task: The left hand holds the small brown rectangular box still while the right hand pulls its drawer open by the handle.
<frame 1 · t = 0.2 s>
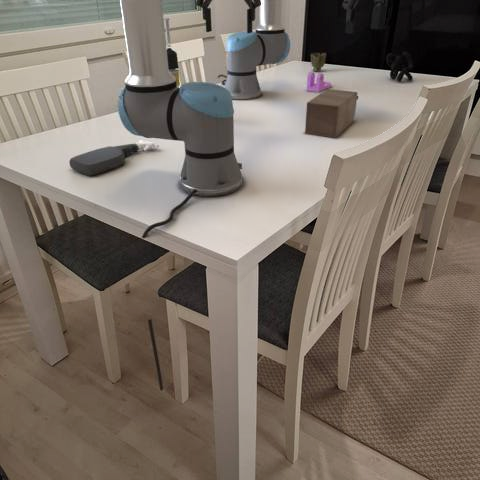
left hand: (229, 32, 139), 28 cm above the table, tool pointing down, fingers open, 13 cm apart
right hand: (362, 31, 140), 27 cm above the table, tool pointing down, fingers open, 13 cm apart
olive tapered piece: (317, 71, 220), on the table
brown rectangular box: (330, 127, 146), on the table
filter: (174, 105, 171), on the table
bracket: (320, 88, 190), on the table
squiggle: (399, 80, 200), on the table
drawer: (338, 107, 148), point 5 cm above the table, slide at 2.0 cm
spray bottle: (117, 159, 125), on the table
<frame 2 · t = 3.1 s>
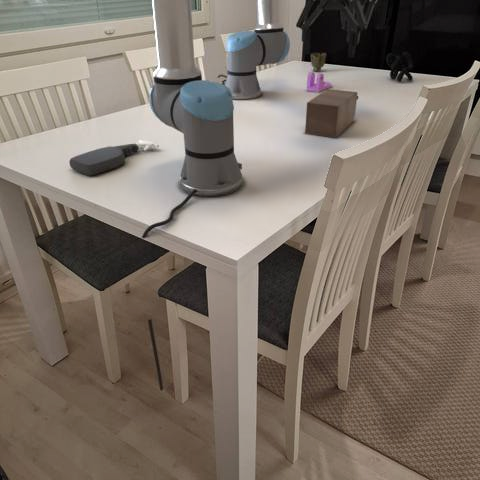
left hand: (328, 55, 131), 23 cm above the table, tool pointing down, fingers open, 13 cm apart
right hand: (351, 53, 147), 20 cm above the table, tool pointing down, fingers closed
nothing on the table moved.
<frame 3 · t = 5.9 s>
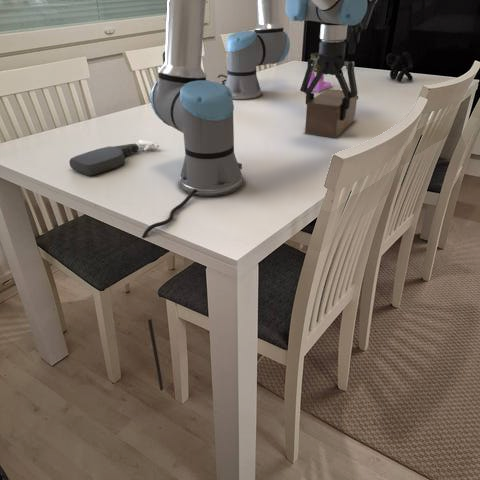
left hand: (326, 117, 140), 5 cm above the table, tool pointing down, fingers closed on brown rectangular box, 10 cm apart
right hand: (351, 53, 147), 20 cm above the table, tool pointing down, fingers closed
brown rectangular box: (330, 127, 146), on the table, touching left hand
everything else where it was.
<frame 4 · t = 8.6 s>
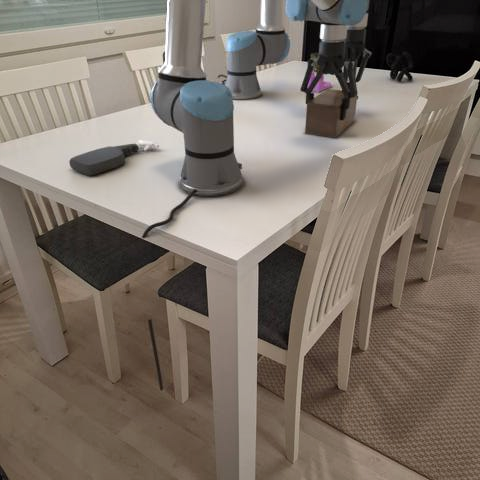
left hand: (326, 117, 140), 5 cm above the table, tool pointing down, fingers closed on brown rectangular box, 10 cm apart
right hand: (346, 102, 156), 4 cm above the table, tool pointing down, fingers closed
brown rectangular box: (330, 127, 146), on the table, touching left hand
drawer: (338, 107, 149), point 5 cm above the table, slide at 2.1 cm, touching right hand
everything else where it was.
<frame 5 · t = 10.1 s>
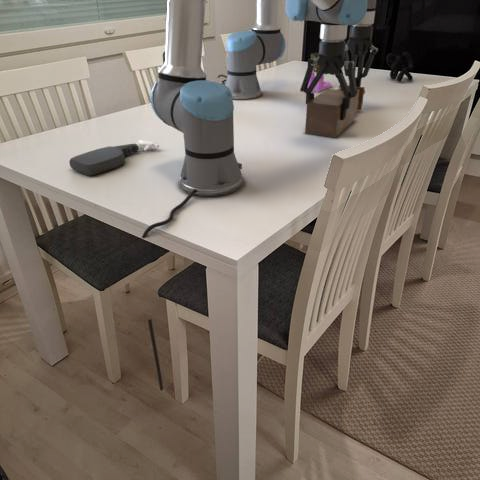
left hand: (326, 116, 140), 5 cm above the table, tool pointing down, fingers closed on brown rectangular box, 10 cm apart
right hand: (353, 96, 162), 4 cm above the table, tool pointing down, fingers closed
brown rectangular box: (330, 127, 146), on the table, touching left hand
drawer: (345, 101, 155), point 5 cm above the table, slide at 10.4 cm, touching right hand
everything else where it was.
when the left hand's fingers open (5 cm above the table, at t = 12.0 s): brown rectangular box stays where it is, on the table.
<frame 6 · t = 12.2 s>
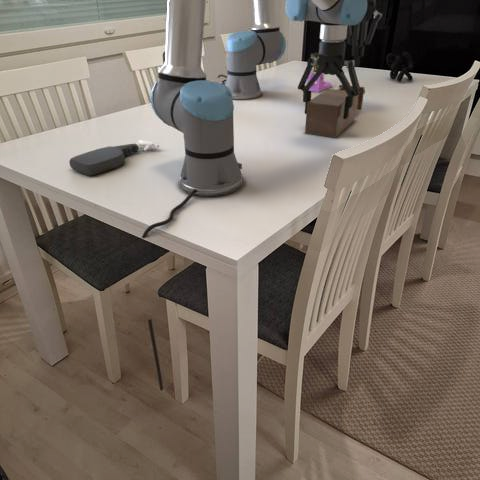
left hand: (326, 115, 140), 5 cm above the table, tool pointing down, fingers open, 12 cm apart
right hand: (356, 66, 156), 15 cm above the table, tool pointing down, fingers closed
brown rectangular box: (330, 127, 146), on the table
drawer: (345, 100, 155), point 5 cm above the table, slide at 10.4 cm
everything else where it was.
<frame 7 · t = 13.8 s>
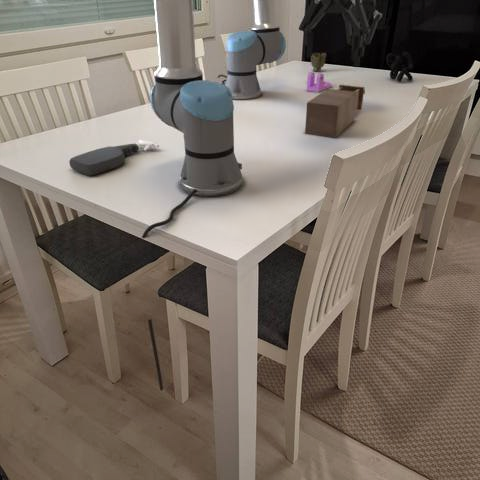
left hand: (330, 58, 131), 22 cm above the table, tool pointing down, fingers open, 13 cm apart
right hand: (356, 66, 156), 15 cm above the table, tool pointing down, fingers closed
nothing on the table moved.
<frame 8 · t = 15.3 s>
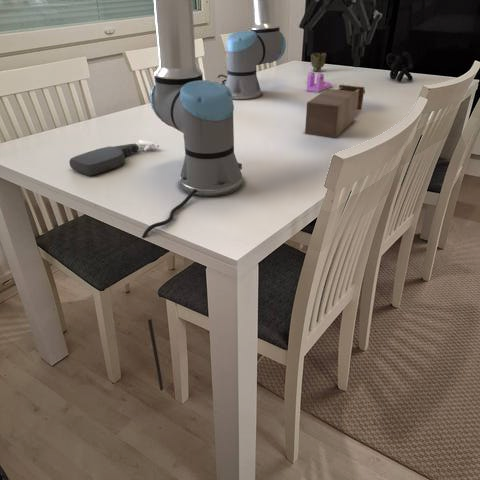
left hand: (331, 56, 130), 22 cm above the table, tool pointing down, fingers open, 13 cm apart
right hand: (356, 66, 156), 15 cm above the table, tool pointing down, fingers closed
nothing on the table moved.
at the end: drawer slide at 10.4 cm; brown rectangular box tilted 0°; brown rectangular box never tilted more than 1° during the clip; brown rectangular box moved 0.2 cm from its start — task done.
